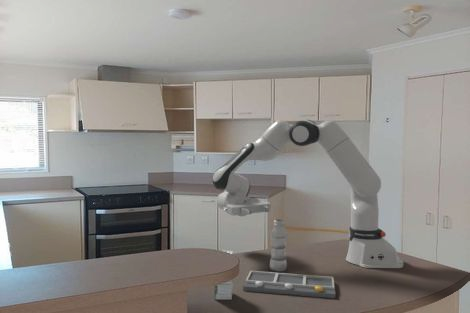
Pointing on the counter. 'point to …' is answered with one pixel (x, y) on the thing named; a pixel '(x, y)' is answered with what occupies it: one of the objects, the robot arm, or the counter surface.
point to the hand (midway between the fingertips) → (259, 211)
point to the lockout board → (290, 284)
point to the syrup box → (224, 289)
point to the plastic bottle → (278, 246)
